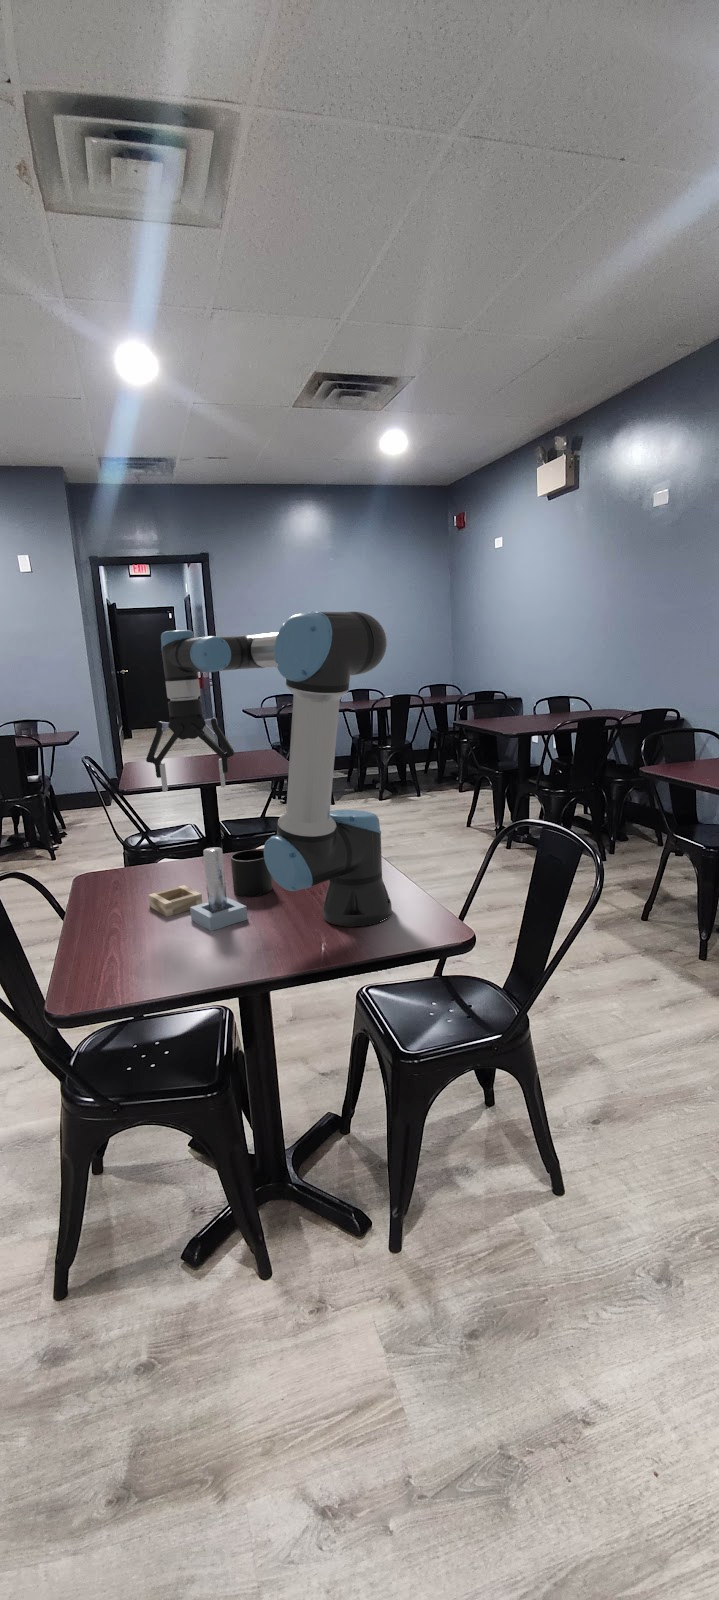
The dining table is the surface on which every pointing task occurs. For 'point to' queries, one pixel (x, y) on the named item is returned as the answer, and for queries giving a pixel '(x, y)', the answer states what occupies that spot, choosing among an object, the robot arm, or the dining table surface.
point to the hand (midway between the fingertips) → (194, 788)
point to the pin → (215, 879)
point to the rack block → (175, 900)
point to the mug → (250, 873)
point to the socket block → (218, 915)
